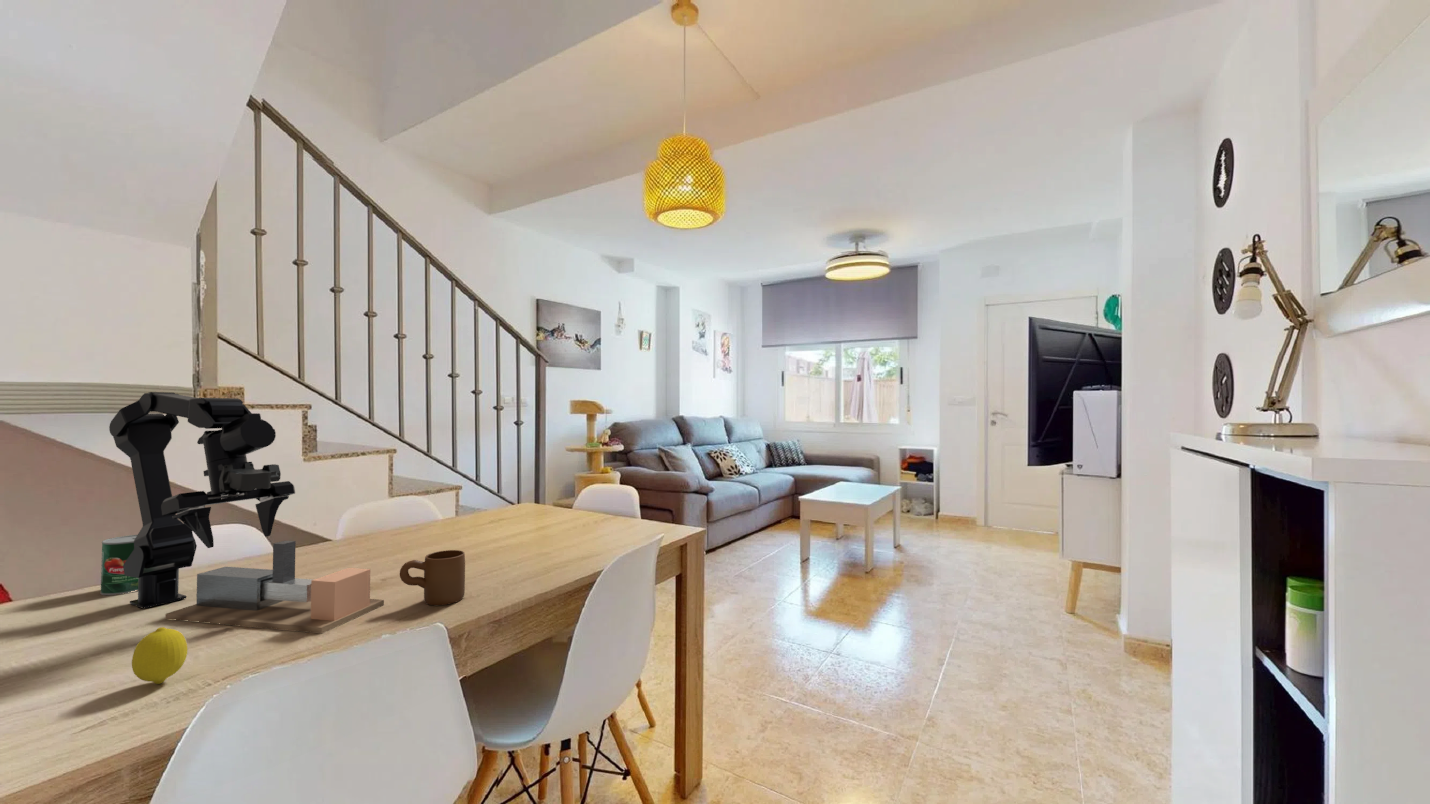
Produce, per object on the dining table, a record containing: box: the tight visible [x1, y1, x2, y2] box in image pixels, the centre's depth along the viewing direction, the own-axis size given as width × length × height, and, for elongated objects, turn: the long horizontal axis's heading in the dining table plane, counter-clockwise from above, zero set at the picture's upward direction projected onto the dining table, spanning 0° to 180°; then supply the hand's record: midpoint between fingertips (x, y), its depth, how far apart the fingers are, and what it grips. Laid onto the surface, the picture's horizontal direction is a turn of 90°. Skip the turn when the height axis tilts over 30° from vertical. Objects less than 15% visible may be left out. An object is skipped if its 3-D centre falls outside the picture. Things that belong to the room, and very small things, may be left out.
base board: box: [164, 598, 385, 634], centre depth 104 cm, size 34×14×1 cm, turn 80°
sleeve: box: [195, 566, 282, 611], centre depth 105 cm, size 14×5×6 cm, turn 80°
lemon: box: [131, 626, 188, 685], centre depth 77 cm, size 6×6×8 cm
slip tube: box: [260, 540, 314, 602], centre depth 105 cm, size 23×3×11 cm, turn 80°
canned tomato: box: [99, 534, 138, 596], centre depth 116 cm, size 8×8×11 cm
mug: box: [399, 549, 466, 606], centre depth 110 cm, size 12×8×9 cm, turn 128°
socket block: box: [311, 567, 371, 621], centre depth 101 cm, size 5×8×7 cm, turn 170°
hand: (240, 541), depth 101 cm, fingers open, 9 cm apart
